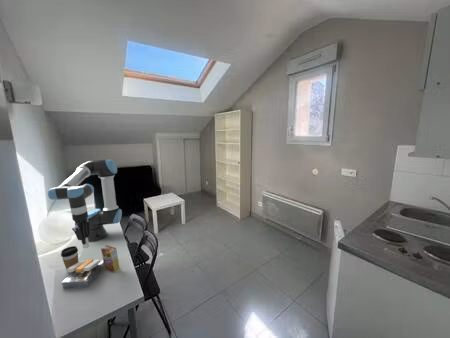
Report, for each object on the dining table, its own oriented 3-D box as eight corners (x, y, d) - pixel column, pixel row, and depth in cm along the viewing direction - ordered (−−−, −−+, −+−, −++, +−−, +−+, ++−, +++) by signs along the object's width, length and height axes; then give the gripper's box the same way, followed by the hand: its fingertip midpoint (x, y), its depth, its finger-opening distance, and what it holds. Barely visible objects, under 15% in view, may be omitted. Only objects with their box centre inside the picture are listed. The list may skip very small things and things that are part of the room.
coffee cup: (72, 275, 119) (67, 254, 116) (61, 273, 120) (56, 252, 117) (84, 266, 127) (80, 245, 124) (74, 264, 128) (69, 244, 125)
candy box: (104, 269, 123) (100, 248, 120) (110, 265, 127) (106, 244, 124) (114, 273, 120) (110, 251, 117) (119, 268, 124) (116, 247, 121)
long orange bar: (88, 262, 123) (88, 259, 123) (93, 261, 123) (93, 259, 123) (75, 272, 112) (75, 269, 112) (81, 272, 112) (81, 269, 112)
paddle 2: (95, 262, 123) (95, 259, 123) (100, 262, 123) (100, 259, 123) (83, 271, 112) (83, 267, 112) (89, 270, 112) (89, 267, 112)
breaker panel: (84, 266, 127) (83, 259, 126) (106, 265, 127) (104, 258, 126) (63, 288, 109) (61, 280, 108) (88, 286, 110) (86, 279, 109)
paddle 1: (80, 263, 123) (80, 260, 123) (86, 263, 123) (86, 260, 123) (67, 271, 112) (67, 268, 112) (73, 271, 112) (73, 268, 112)
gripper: (80, 208, 120) (87, 241, 126) (64, 217, 108) (72, 254, 113) (92, 207, 121) (98, 241, 126) (78, 217, 108) (85, 254, 113)
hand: (86, 247), depth 119 cm, fingers closed
